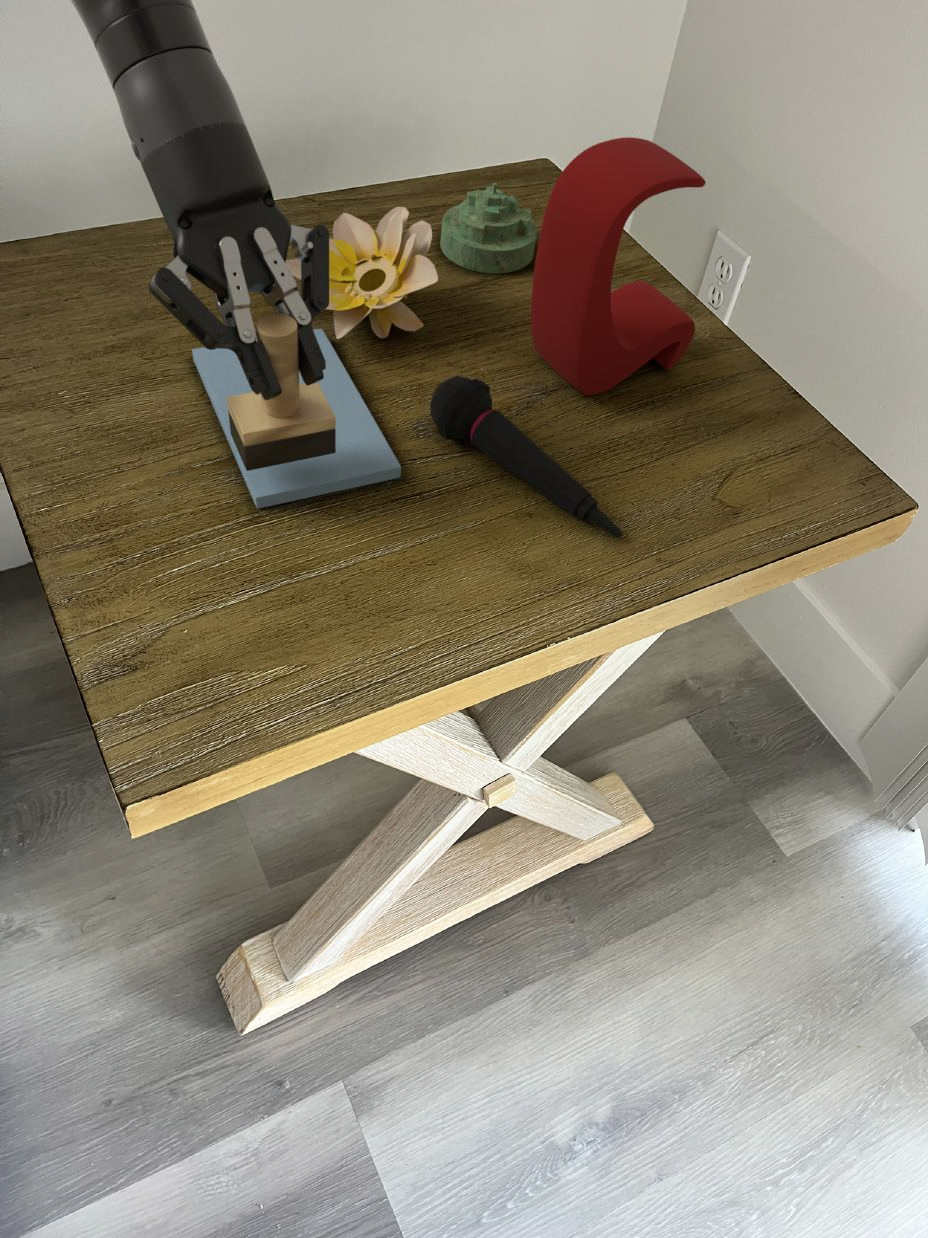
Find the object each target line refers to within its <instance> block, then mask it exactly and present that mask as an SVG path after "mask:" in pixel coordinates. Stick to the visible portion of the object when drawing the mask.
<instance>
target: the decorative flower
mask: <svg viewBox="0 0 928 1238" xmlns="http://www.w3.org/2000/svg"><path fill="white" fill-rule="evenodd" d="M409 214H410V212H409V210H408V209H407V208H406V207H405V206H396V207H393V208H392V209H390V211H388V212H387V213H386V214H385V215H384V216H382V218H381V219H380V220H379V223H378V224H377V226H376V230H374V229H373V228H372V227H371V225H370V224H369V223H368V222H366V221H364V220H362V219H360V218H358V217H356V216H354V215H352V214H351V213H347V212H343V213H342V214H340V215H339V216H338V217H337V218H336V219H335V220H334V222H333V227H332V237H333V238H329V305H328V307H327V308H326V309H325V310H329V311H333V312H332V318H333V326H334V327H333V328H334V333H335V335H334V336H335V338H336V340H339V339H341V338H343V337H344V336H345V335H347V334H348V333H350V332H351V331H352V330H353V329H355V328H356V327H357V326H358V325H359V324H360V323H361V322H362V321H363V320H364V319H365V318H366V317H367V316H368V317H369V318H368V319H369V321H370V326H371V330H372V331H373V333H374V334H375V335H376V336H377V337H378V338H380V339H385V338H387V337H388V336H389V334H390V330H391V326H392V324H393V325H394V326H395V327H397V328H399V329H401V330H403V331H406V332H415V331H418V330H420V329H421V328H423V327H424V326H425V324H424V323H423V322H422V320H420V319H419V317H418V316H417V315H416V313H414V312H413V311H412V310H411V309H410V308H409V307H408V305H406V304H405V303H404V302H402V301H401V300H402V299H404V300H407V299H408V297H407V295H408V294H410V293H413V292H417V291H419V290H422V289H424V288H427V287H429V286H432V285H434V284H436V283H437V282H438V281H439V275H438V272H437V269H436V266H435V264H434V263H433V262H432V261H431V260H430V259H429V258H428V257H426V254H427V253H428V251H429V249H430V246H431V242H432V240H433V231H432V226H431V224H430V223H428V222H426V221H425V220H423V219H421V220H419V221H417V222H415V223H413V224H412V225H411V226H410V227H409V228H408V230H406V232H405V233H404V229H405V227H406V226H407V225H406V224H407V221H408V218H409ZM403 233H404V236H403ZM285 264H286V265H287V267H288V269H289V271H290V272H291V274H292V276H293V277H295V278H296V279H299V280H300V281H301V260H299V259H298V258H296V257H295V258H291V259H286V262H285Z"/></svg>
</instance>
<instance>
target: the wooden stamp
mask: <svg viewBox="0 0 928 1238" xmlns="http://www.w3.org/2000/svg"><path fill="white" fill-rule="evenodd" d="M255 331H256V339H257V343H258V342H261V341H262V343H263V346H264V348H265V350H266V353H267V355H268V358H269V360H270V362H271V365H272V367H273V370H274V372H275V374H276V377H277V379H278V381H279V384H280V386H281V390H282V393H281V394H280V395H279V396H277V397H275V398H272V399H270V400H267V401H266V400H264V399H263V397H262V395H261V394H258V395H256V394H255V393H254V392H251V393H246V394H240V395H235V396H229V397H227V403H228V412H229V422H230V431H231V436H232V438H233V440H234V443H235V445H236V447H237V450H238V452H239V454H240V457H241V459H242V461H243V464H244V466H245V468H246V470H247V471H250V470H255V469H260V468H265V467H270V466H275V465H279V464H284V463H289V462H294V461H299V460H304V459H309V458H314V457H319V456H323V455H328V454H333V453H336V429H335V428H336V416H335V414H334V413H333V411H332V409H331V407H330V405H329V403H328V401H327V399H326V398H325V396H324V394H323V392H322V390H321V388H320V386H319V384H318V382H317V383H314V384H311V385H308V386H307V385H306V384H305V383H302V384H299V357H298V329H297V323H296V321H295V320H294V319H293V318H292V317H290V316H288V315H285V314H279V313H275V312H274V313H269V314H265V315H263V316H260V318H258V319H257V321H256V323H255Z"/></svg>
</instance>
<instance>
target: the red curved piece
mask: <svg viewBox="0 0 928 1238" xmlns="http://www.w3.org/2000/svg"><path fill="white" fill-rule="evenodd" d="M705 185H706V180H705V178H704V177H703V176H702V175H701V174H700V173H699V172H697V171H696V170H695V169H693V168H692V167H691V166H689V164H687V163H685V162H684V161H683V160H681V159H680V158H678V157H677V156H675V155H674V154H673V153H671V152H670V151H668V150H667V149H665V148H663V147H662V146H660V145H659V144H656V143H655V142H653V141H651V140H648V139H645V138H639V137H629V136H627V137H618V138H612V139H609V140H604V141H601V142H598V143H596V144H593V145H591V146H589V147H588V148H586V149H584V150H583V151H582V152H580V153H579V154H578V155H576V156H575V157H574V158H573V159H572V160H571V161H570V162H569V163H568V164H567V166H565V168H564V169H563V170H562V172H561V173H560V175H559V177H558V178H557V179H556V181H555V183H554V185H553V188H552V190H551V192H550V196H549V198H548V201H547V204H546V207H545V211H544V215H543V219H542V223H541V227H540V233H539V239H538V245H537V251H536V256H535V263H534V270H533V278H532V288H531V300H530V328H531V329H530V331H531V336H532V342H533V346H534V349H535V350H536V353H538V355H539V356H540V357H541V358H542V359H543V360H544V361H545V363H546V364H548V365H549V367H551V369H553V370H554V371H555V372H556V373H557V374H558V375H559V376H560V377H561V378H562V379H564V381H566V382H567V383H568V384H569V385H570V386H571V387H572V388H573V389H575V390H577V391H578V392H579V393H581V394H583V395H586V396H595V395H599V394H602V393H604V392H607V391H609V390H611V389H613V388H614V387H616V386H617V385H618V384H620V383H622V382H623V381H624V380H626V379H627V378H629V377H630V376H631V375H632V374H634V373H635V372H636V371H638V370H639V369H640V368H641V367H643V366H644V365H645V364H647V363H648V362H649V361H650V360H653V361H654V362H655V363H657V364H658V365H659V366H660V367H662V368H664V369H665V370H667V371H668V370H669V371H670V370H672V369H673V368H674V367H675V366H676V364H677V363H678V362H679V360H680V359H681V357H682V356H683V355H684V353H685V351H687V349H688V347H689V346H690V344H691V342H692V340H693V338H694V335H695V332H696V324H695V321H694V320H693V318H691V316H690V315H688V313H686V311H684V310H683V309H682V308H681V307H679V305H678V304H676V303H675V302H674V301H673V300H672V299H670V298H669V297H667V295H665V294H664V293H663V292H661V291H660V290H658V289H657V288H656V287H655V286H653V285H651V284H650V283H648V282H646V281H645V280H637V281H633V282H629V283H627V284H624V285H621V286H620V287H618V288H616V289H614V290H613V291H612V282H613V275H614V270H615V269H614V268H615V262H616V259H617V255H618V250H619V245H620V242H621V239H622V235H623V232H624V228H625V226H626V223H627V221H628V219H629V217H630V216H631V215H632V213H633V212H634V211H635V210H636V209H637V208H638V207H639V206H640V205H641V204H643V203H644V202H645V201H647V200H649V199H650V198H652V197H654V196H656V195H660V194H662V193H665V192H669V191H672V190H677V189H684V188H685V189H686V188H704V187H705Z"/></svg>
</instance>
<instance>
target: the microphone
mask: <svg viewBox="0 0 928 1238" xmlns="http://www.w3.org/2000/svg"><path fill="white" fill-rule="evenodd" d="M429 408H430V409H429V410H430V418H431V419H432V421H433V422H434V423H433V424H435V426H436V427H437V430H438V431H437V433H438V435H439V436H441V437H442V438H443V439H445V440H449V441H457V440H458V439H459V440H465V441H466V440H470V441H471V444H472V445H473V446H475V447H476V448H477V449H479V450H480V451H482V452H483V453H485V454H486V455H487V456H489V457H490V458H491V459H493V460H494V462H495V464H497V465H498V466H499V467H500V468H502V469H503V470H504V471H506V472H507V473H512V474H514V475H515V476H516V477H517V478H519V479H520V480H522V481H523V482H525V483H526V484H527V485H529V486H531V488H533V489H534V490H536V491H537V492H538V493H540V494H542V496H544V497H546V498H547V499H549V500H550V501H551V502H553V503H554V504H556V505H557V506H558V507H560V508H561V509H563V510H564V511H565V512H567V513H568V514H569V515H571V516H573V517H576V518H577V519H579V520H580V521H581V522H583V521H586V520H588V521H590V522H591V523H592V524H594V525H595V526H596V527H598V528H600V529H601V530H603V531H604V532H606V533H608V534H610V535H612V536H613V537H615V538H617V539H619V538H620V537H621V536H622V535H623V532H622V531H621V530H620V529H619V527H618V526H617V525H616V524H615V523H614V522H613V521H612V520H611V519H610V518H609V517H608V516H607V515H606V514H605V513H604V512H603V511H602V510H600V508H598V505H599V501H598V500H597V499H596V498H594V497H593V496H592V493H591V492H590V491H589V490H588V489H586V488H585V487H584V486H583V485H582V484H581V483H580V482H579V481H578V480H577V479H576V478H574V477H573V476H572V475H571V474H570V473H569V472H568V471H567V470H565V469H564V468H563V467H562V466H561V465H560V464H559V463H557V462H556V460H554V459H553V457H551V455H549V454H548V453H546V452H545V451H544V450H543V449H542V448H541V447H540V446H539V445H537V444H536V443H535V442H534V441H533V440H532V438H530V437H529V436H528V435H527V434H525V433H524V432H523V431H522V430H521V429H520V428H519V427H518V426H516V425H515V424H514V423H513V422H512V421H511V420H510V419H508V418H507V417H506V416H505V415H504V414H503V413H502V412H501V411H500V410H496V409H493V398H492V396H491V387H490V386H489V384H488V383H486V382H485V381H483V380H481V379H477V378H473V379H471V378H468V377H464V376H461V375H454V376H452V377H449V378H447V379H445V380H444V381H442V382H441V383H440V384H438V386H437V387H436V388H435V389H434V391H433V392H432V396H431V398H430V406H429Z"/></svg>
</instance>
